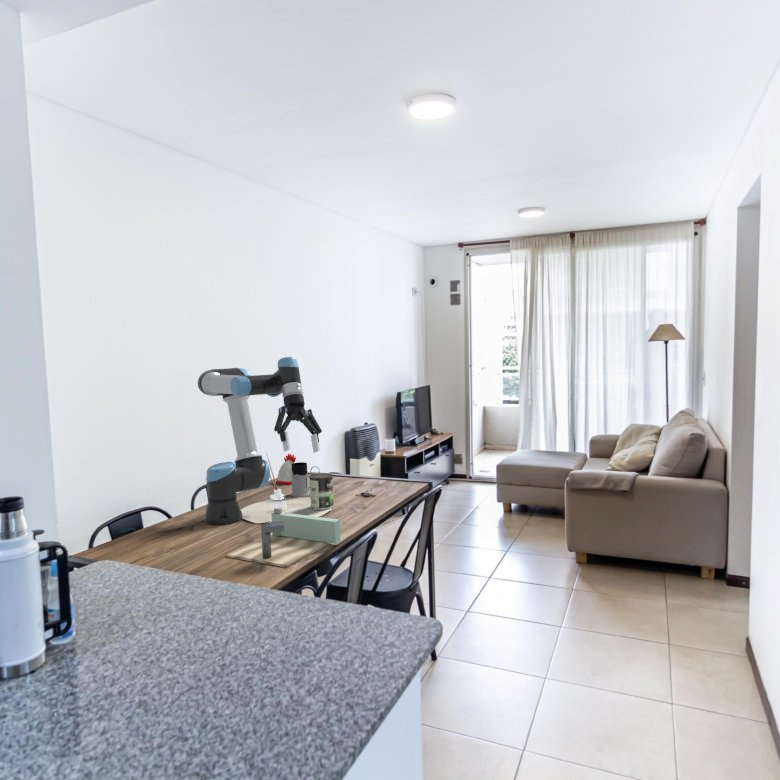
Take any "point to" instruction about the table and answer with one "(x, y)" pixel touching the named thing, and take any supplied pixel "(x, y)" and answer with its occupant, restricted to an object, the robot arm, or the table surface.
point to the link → (308, 527)
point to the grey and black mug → (300, 479)
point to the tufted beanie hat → (286, 470)
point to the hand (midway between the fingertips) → (302, 450)
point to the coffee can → (321, 491)
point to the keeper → (269, 536)
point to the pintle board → (278, 549)
